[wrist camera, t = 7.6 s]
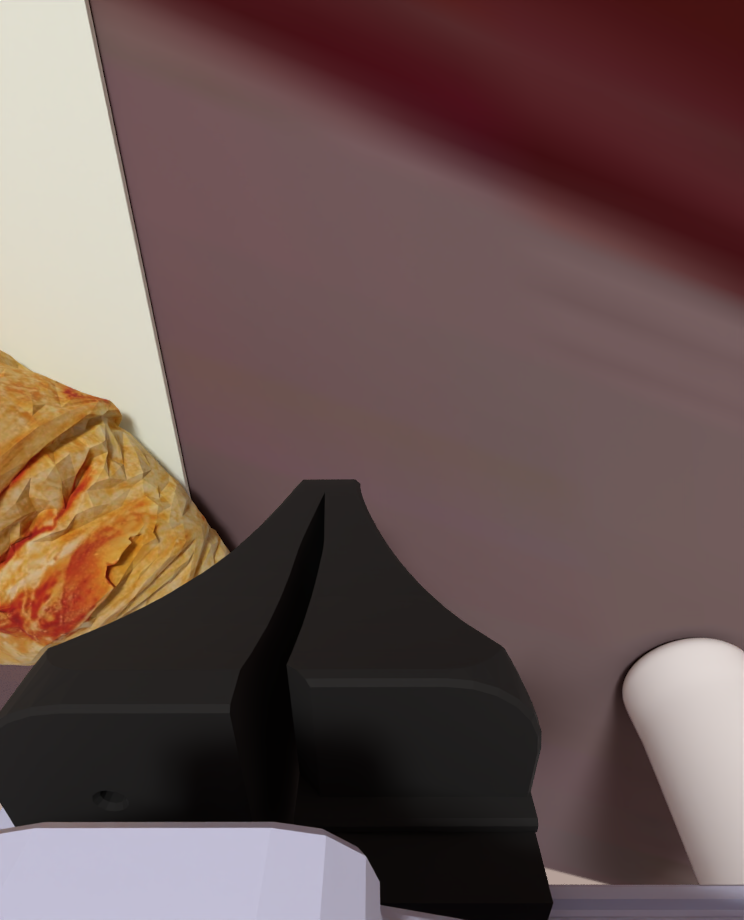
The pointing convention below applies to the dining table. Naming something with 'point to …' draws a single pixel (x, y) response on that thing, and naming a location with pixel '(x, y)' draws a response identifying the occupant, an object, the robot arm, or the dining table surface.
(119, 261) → the mat
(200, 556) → the croissant
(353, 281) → the dining table surface
